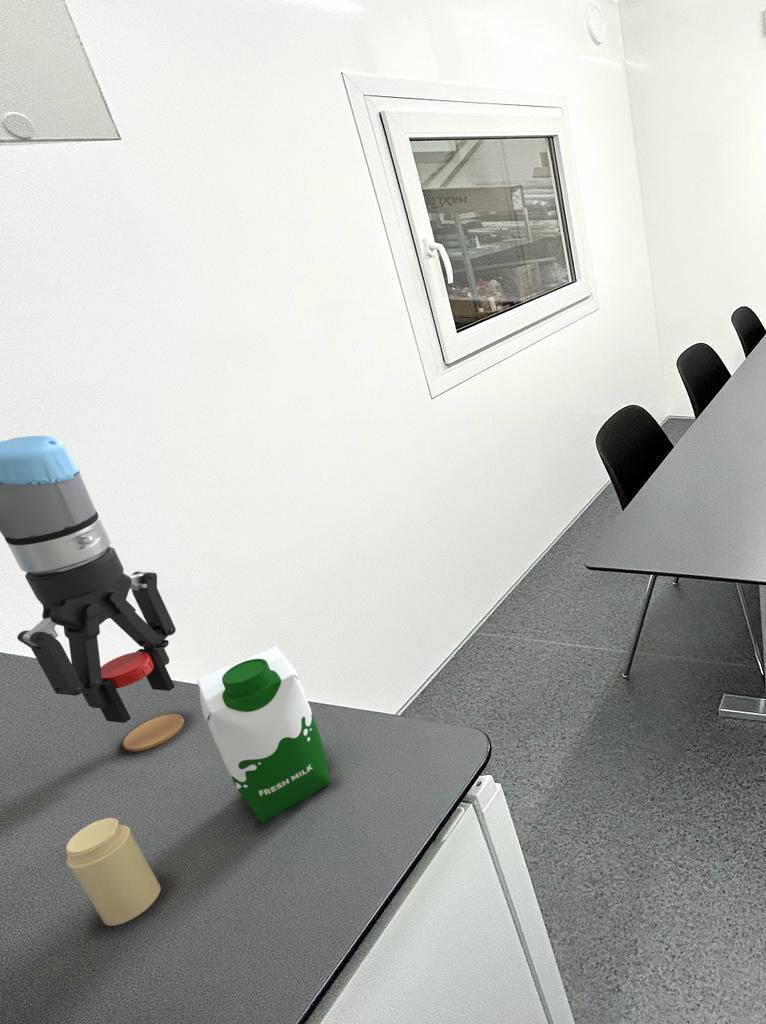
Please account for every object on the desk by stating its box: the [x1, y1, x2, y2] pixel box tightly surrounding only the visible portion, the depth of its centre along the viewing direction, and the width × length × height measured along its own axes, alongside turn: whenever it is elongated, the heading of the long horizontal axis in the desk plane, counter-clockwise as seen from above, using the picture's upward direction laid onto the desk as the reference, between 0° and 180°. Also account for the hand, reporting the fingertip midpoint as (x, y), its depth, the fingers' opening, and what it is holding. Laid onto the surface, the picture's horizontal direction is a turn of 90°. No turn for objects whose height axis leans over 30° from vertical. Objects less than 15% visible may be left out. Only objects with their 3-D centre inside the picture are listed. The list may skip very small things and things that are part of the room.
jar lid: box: [101, 651, 154, 690], centre depth 83 cm, size 5×5×2 cm
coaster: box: [122, 713, 185, 753], centre depth 87 cm, size 6×6×1 cm
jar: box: [65, 817, 162, 927], centre depth 65 cm, size 4×4×11 cm
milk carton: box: [196, 645, 331, 824], centre depth 76 cm, size 9×9×20 cm
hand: (141, 703), depth 85 cm, fingers closed on jar lid, 5 cm apart
